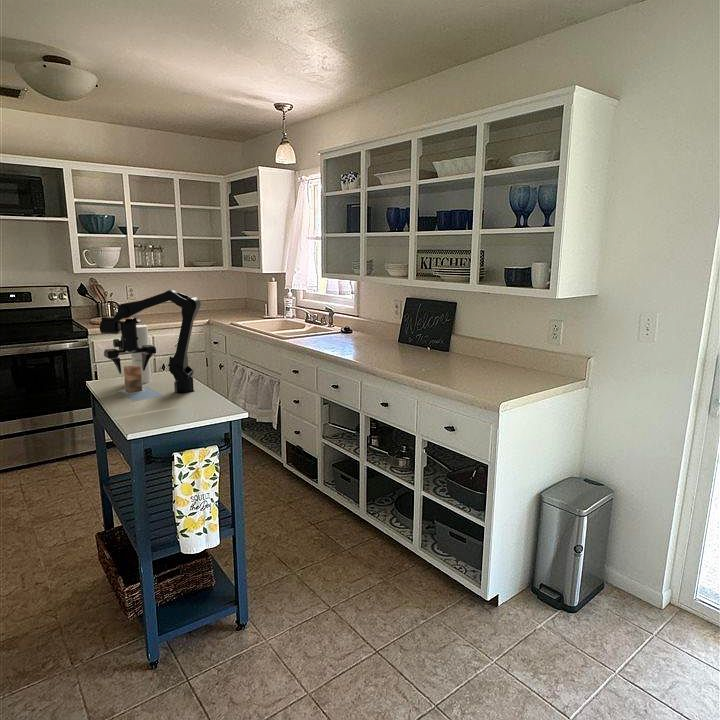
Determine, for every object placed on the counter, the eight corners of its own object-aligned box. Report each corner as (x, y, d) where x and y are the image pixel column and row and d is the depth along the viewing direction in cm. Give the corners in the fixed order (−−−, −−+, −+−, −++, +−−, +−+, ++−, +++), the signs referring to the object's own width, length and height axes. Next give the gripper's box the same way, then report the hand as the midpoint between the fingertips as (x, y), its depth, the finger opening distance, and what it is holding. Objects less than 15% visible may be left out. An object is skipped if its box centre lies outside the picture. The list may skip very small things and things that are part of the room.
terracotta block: (137, 376, 217) (136, 364, 216) (141, 379, 213) (140, 367, 212) (124, 378, 213) (123, 366, 212) (128, 380, 210) (127, 368, 209)
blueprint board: (147, 387, 222) (147, 385, 222) (165, 397, 208) (164, 395, 208) (117, 392, 214) (117, 390, 214) (133, 402, 200) (133, 400, 200)
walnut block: (137, 388, 218) (137, 376, 217) (142, 390, 214) (141, 379, 213) (125, 390, 215) (124, 378, 213) (129, 393, 211) (128, 380, 210)
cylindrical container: (143, 380, 234) (139, 324, 229) (154, 382, 231) (151, 325, 226) (129, 383, 228) (125, 326, 222) (141, 385, 224) (137, 327, 219)
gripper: (145, 329, 221) (148, 365, 225) (98, 333, 209) (101, 371, 213) (155, 333, 213) (157, 370, 216) (106, 337, 201) (110, 377, 204)
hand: (132, 372), depth 213 cm, fingers open, 9 cm apart
